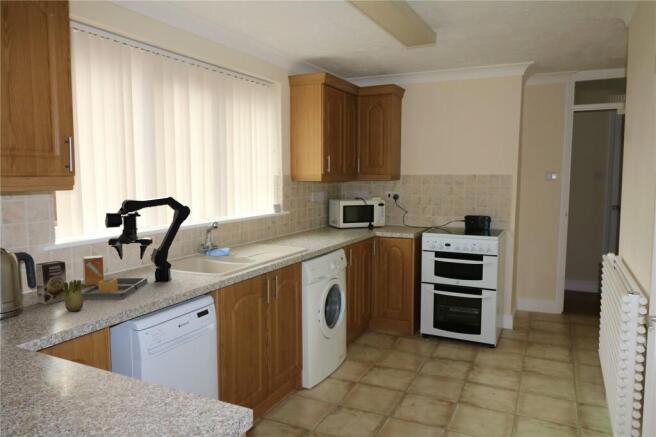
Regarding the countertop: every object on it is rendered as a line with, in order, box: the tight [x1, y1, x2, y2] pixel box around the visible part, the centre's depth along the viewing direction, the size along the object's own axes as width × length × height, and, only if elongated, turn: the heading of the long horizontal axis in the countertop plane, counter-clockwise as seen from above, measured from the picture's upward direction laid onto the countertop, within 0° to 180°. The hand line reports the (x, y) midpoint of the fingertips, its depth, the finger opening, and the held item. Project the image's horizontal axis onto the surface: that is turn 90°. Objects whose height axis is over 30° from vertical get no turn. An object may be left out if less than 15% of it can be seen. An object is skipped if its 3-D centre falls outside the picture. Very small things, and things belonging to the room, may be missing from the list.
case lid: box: [81, 285, 137, 300], centre depth 205 cm, size 18×15×2 cm
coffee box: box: [35, 260, 67, 305], centre depth 194 cm, size 9×6×16 cm
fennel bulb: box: [64, 279, 84, 312], centre depth 181 cm, size 6×5×12 cm
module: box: [98, 277, 118, 293], centre depth 204 cm, size 5×7×6 cm
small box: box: [82, 255, 105, 287], centre depth 224 cm, size 8×6×13 cm
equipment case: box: [95, 277, 149, 291], centre depth 219 cm, size 18×14×2 cm
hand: (131, 259), depth 222 cm, fingers open, 9 cm apart
